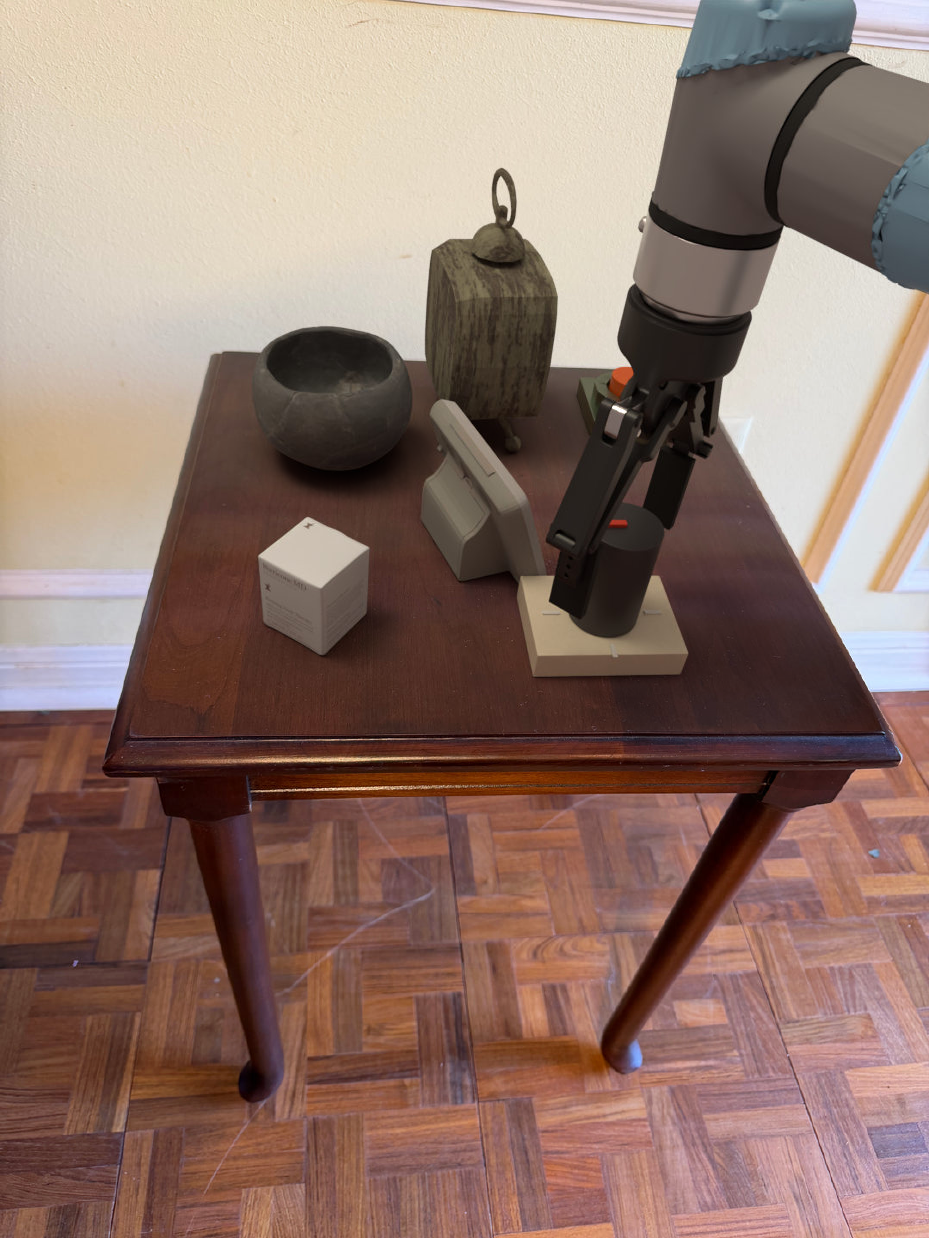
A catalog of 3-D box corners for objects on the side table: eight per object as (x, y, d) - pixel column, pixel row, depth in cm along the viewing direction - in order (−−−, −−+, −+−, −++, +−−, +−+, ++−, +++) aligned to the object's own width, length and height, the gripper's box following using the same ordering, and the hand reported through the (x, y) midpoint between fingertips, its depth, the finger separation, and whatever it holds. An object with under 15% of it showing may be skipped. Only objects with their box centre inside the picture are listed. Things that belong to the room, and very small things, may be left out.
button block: (666, 447, 94) (676, 415, 91) (592, 445, 93) (600, 412, 90) (645, 397, 101) (653, 365, 98) (576, 394, 100) (582, 362, 97)
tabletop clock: (533, 461, 90) (578, 206, 73) (446, 466, 88) (470, 205, 71) (498, 385, 100) (530, 144, 82) (418, 388, 98) (434, 142, 80)
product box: (261, 624, 71) (254, 554, 66) (309, 582, 75) (307, 513, 70) (322, 658, 69) (321, 589, 64) (369, 613, 73) (371, 545, 68)
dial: (627, 588, 74) (655, 499, 68) (644, 637, 70) (674, 547, 64) (561, 588, 73) (582, 498, 67) (574, 638, 69) (598, 547, 63)
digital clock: (549, 599, 76) (571, 499, 69) (445, 608, 74) (457, 506, 67) (502, 484, 87) (517, 387, 80) (411, 489, 85) (417, 390, 78)
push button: (649, 402, 94) (654, 387, 92) (612, 400, 93) (616, 385, 92) (641, 381, 96) (645, 367, 95) (605, 380, 96) (608, 365, 95)
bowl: (416, 495, 84) (423, 402, 77) (255, 497, 82) (246, 401, 75) (402, 409, 95) (406, 320, 88) (258, 408, 92) (251, 317, 85)
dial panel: (651, 593, 78) (658, 570, 76) (681, 678, 71) (691, 656, 69) (515, 593, 76) (519, 570, 74) (533, 681, 69) (538, 657, 67)
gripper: (724, 221, 62) (649, 471, 77) (522, 343, 47) (478, 624, 62) (826, 257, 59) (728, 509, 74) (646, 399, 44) (568, 679, 59)
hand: (614, 562), depth 68 cm, fingers open, 13 cm apart
